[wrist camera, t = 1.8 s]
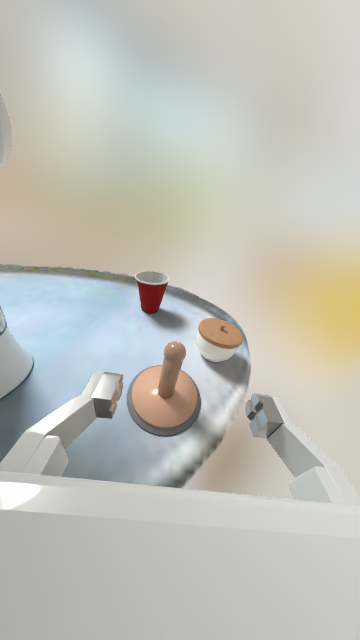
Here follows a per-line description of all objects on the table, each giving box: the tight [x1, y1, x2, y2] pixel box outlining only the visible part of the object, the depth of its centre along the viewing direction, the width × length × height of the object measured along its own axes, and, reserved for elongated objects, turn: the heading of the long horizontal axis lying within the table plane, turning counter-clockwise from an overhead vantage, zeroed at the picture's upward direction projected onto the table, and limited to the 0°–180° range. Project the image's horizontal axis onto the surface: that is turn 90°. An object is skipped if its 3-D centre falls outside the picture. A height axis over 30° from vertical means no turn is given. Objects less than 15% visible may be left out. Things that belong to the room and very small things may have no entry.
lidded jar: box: [196, 318, 243, 362], centre depth 40 cm, size 11×11×9 cm
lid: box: [132, 341, 197, 429], centre depth 27 cm, size 12×12×12 cm
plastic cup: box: [135, 271, 170, 313], centre depth 53 cm, size 11×11×12 cm
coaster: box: [127, 365, 200, 436], centre depth 30 cm, size 14×14×1 cm
